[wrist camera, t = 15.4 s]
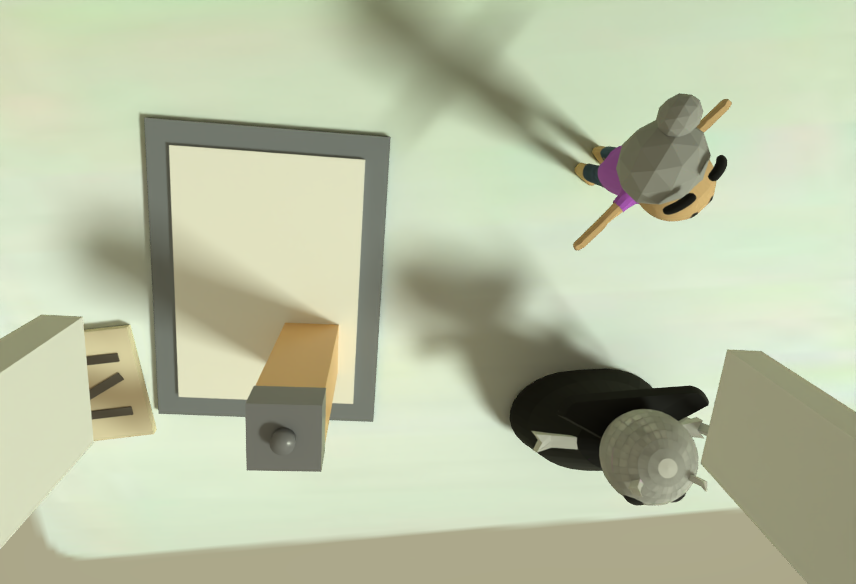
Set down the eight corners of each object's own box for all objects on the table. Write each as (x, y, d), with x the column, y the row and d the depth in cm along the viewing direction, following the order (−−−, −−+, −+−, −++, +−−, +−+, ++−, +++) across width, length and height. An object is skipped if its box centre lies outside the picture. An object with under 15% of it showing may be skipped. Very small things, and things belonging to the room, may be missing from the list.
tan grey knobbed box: (284, 321, 41) (242, 409, 29) (339, 324, 41) (321, 411, 29) (284, 372, 42) (244, 476, 30) (338, 374, 42) (320, 478, 30)
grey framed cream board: (146, 117, 37) (142, 117, 37) (390, 137, 39) (390, 137, 38) (160, 410, 43) (157, 415, 42) (373, 418, 44) (373, 423, 43)
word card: (54, 333, 41) (49, 336, 40) (130, 324, 41) (125, 328, 40) (85, 438, 43) (81, 443, 42) (156, 429, 43) (153, 434, 43)
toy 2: (510, 466, 45) (567, 544, 30) (503, 373, 45) (556, 406, 30) (665, 452, 45) (797, 523, 30) (658, 361, 46) (785, 387, 31)
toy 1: (550, 237, 41) (638, 303, 27) (494, 180, 40) (557, 218, 25) (666, 123, 40) (827, 129, 25) (613, 60, 38) (750, 28, 24)
